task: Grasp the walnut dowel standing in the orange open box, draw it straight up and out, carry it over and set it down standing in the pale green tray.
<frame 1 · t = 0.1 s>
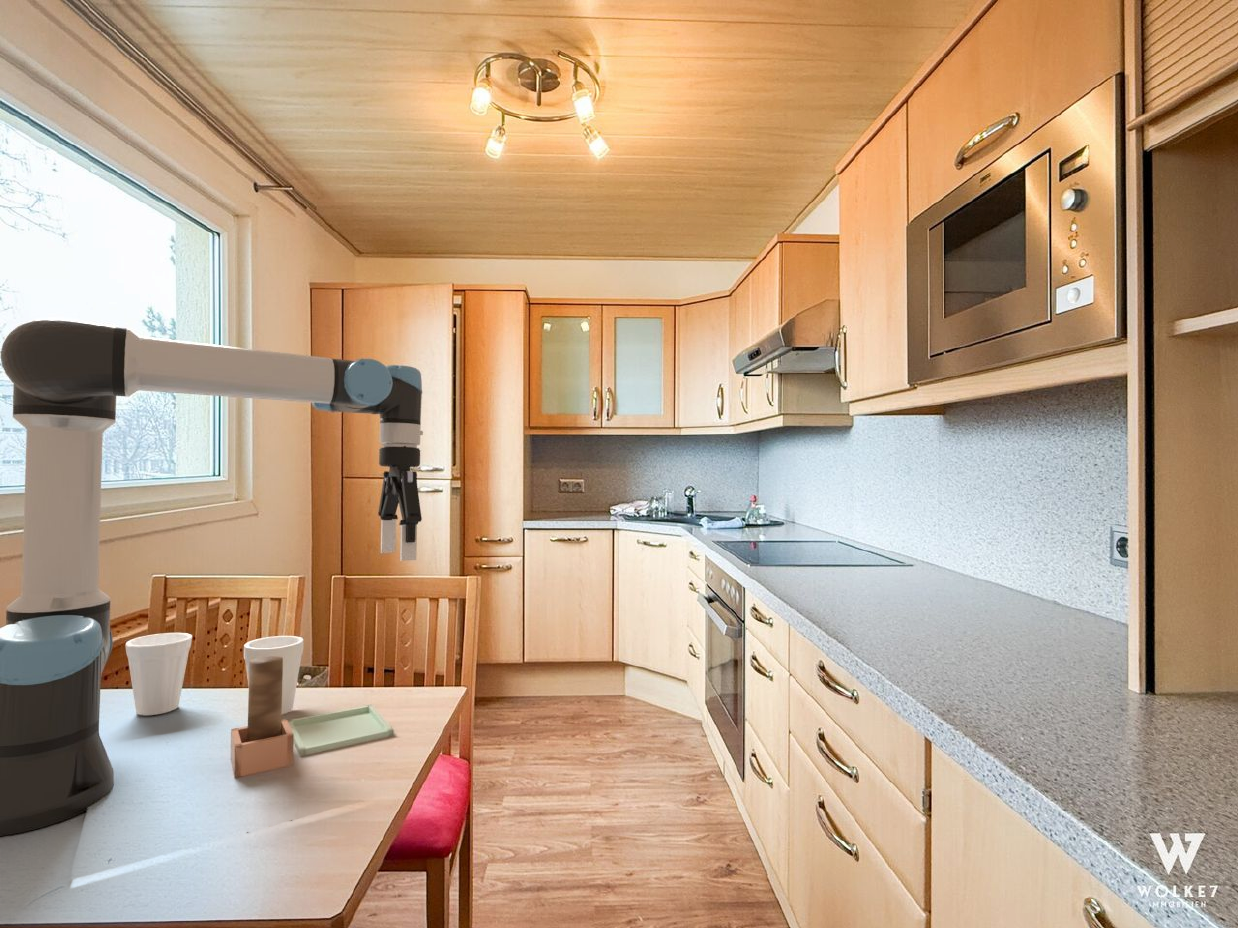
hand: (397, 556, 122), 28 cm above the table, fingers open, 13 cm apart
foam cup: (272, 715, 114), on the table
dowel: (263, 761, 94), point 1 cm above the table, touching orange open box
tray: (338, 734, 106), on the table
cup: (157, 712, 115), on the table
orange open box: (261, 765, 94), on the table
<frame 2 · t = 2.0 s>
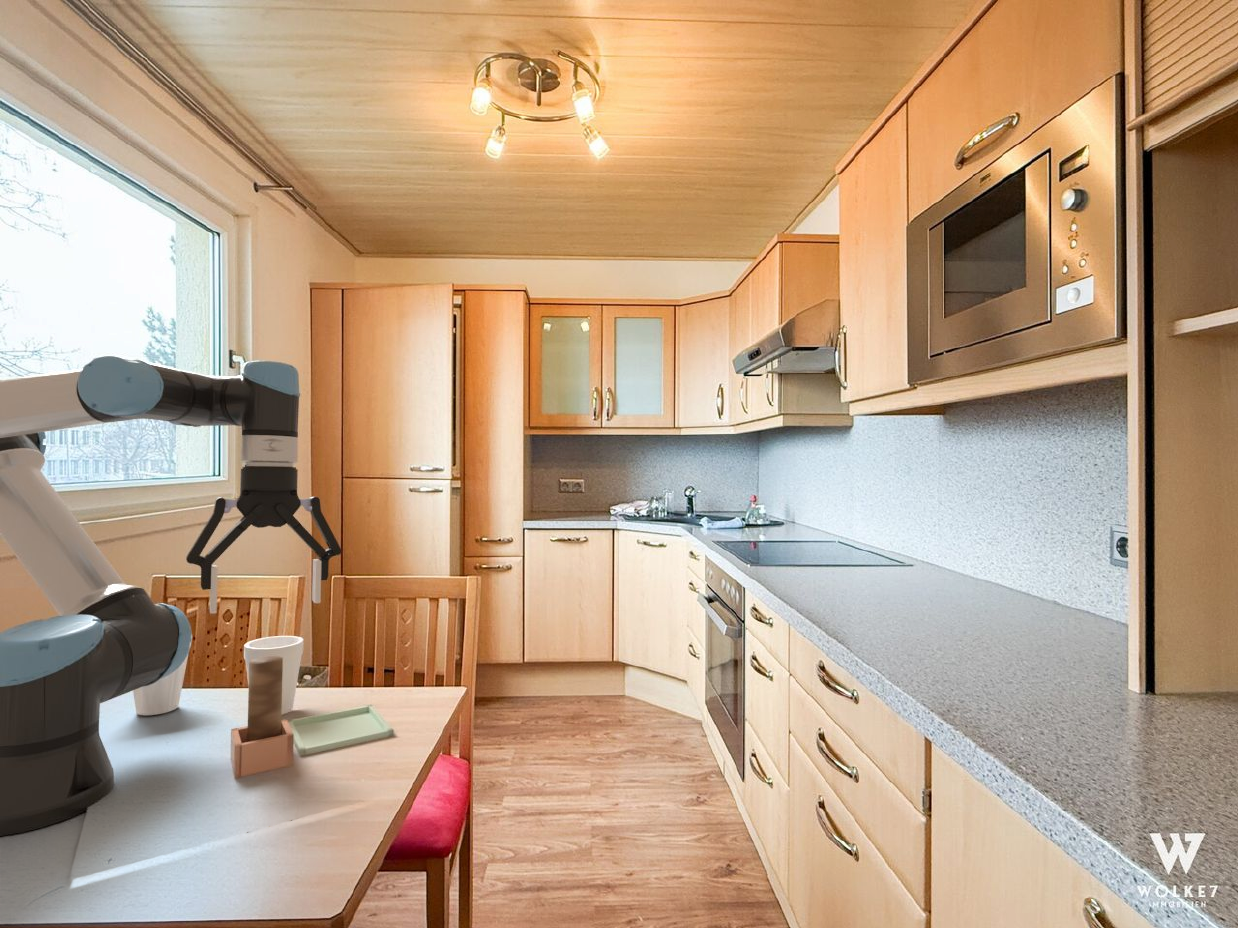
hand: (266, 606, 95), 24 cm above the table, fingers open, 13 cm apart
nothing on the table moved.
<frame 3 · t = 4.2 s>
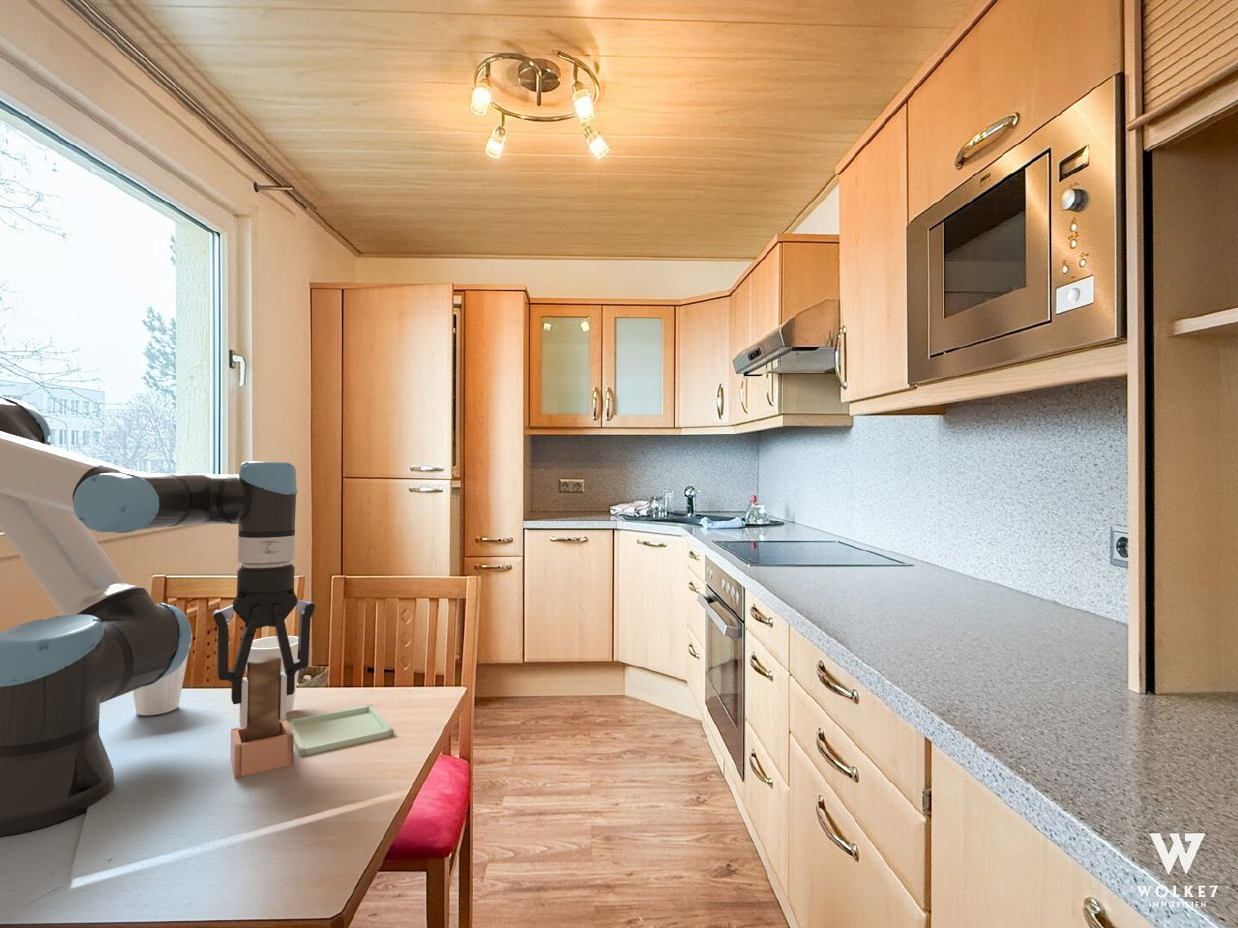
hand: (262, 720, 94), 7 cm above the table, fingers closed on dowel, 4 cm apart
dowel: (261, 761, 94), point 1 cm above the table, touching orange open box, gripper
everything else where it was.
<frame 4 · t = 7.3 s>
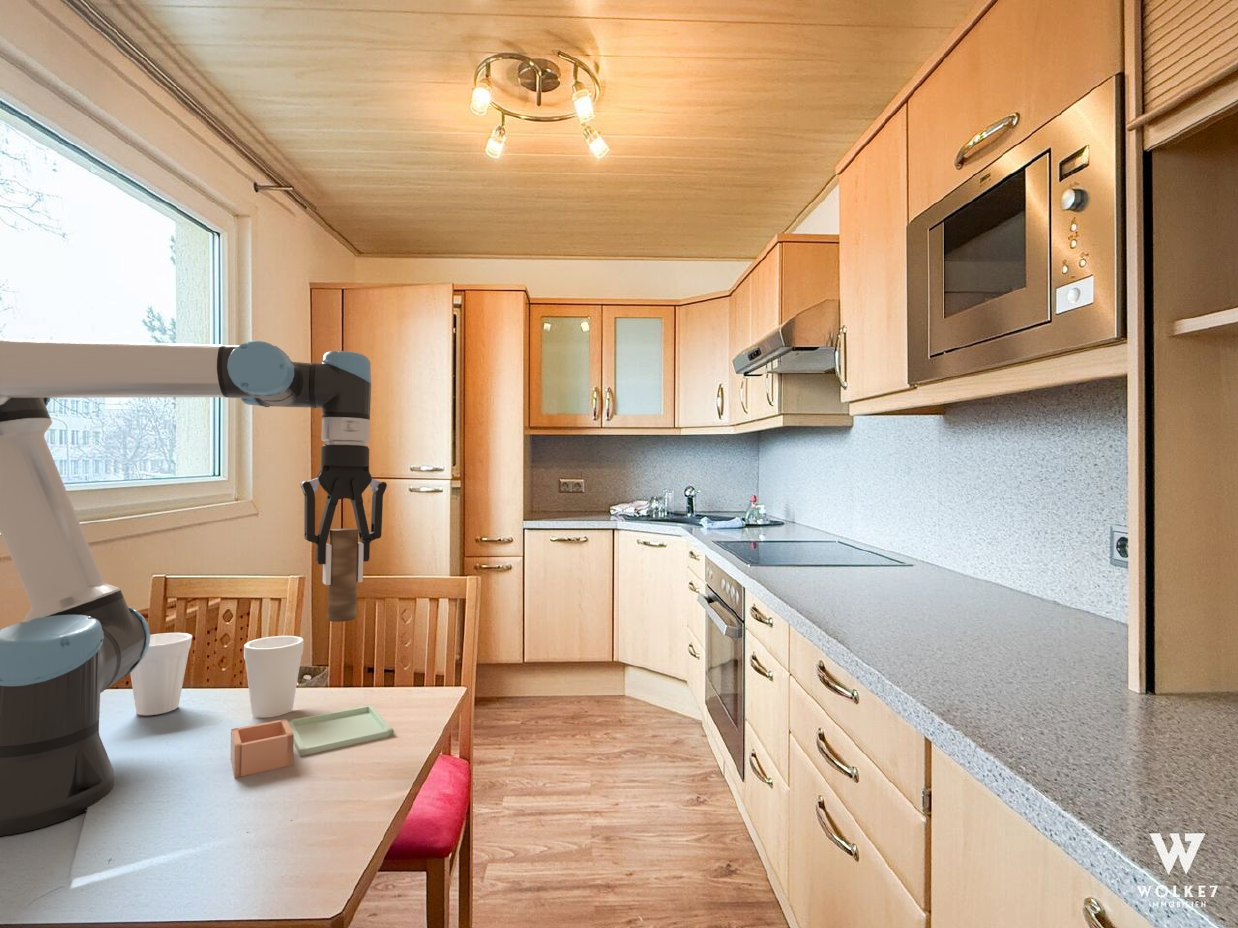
hand: (342, 582, 107), 25 cm above the table, fingers closed on dowel, 4 cm apart
dowel: (342, 618, 106), point 19 cm above the table, touching gripper
everything else where it was.
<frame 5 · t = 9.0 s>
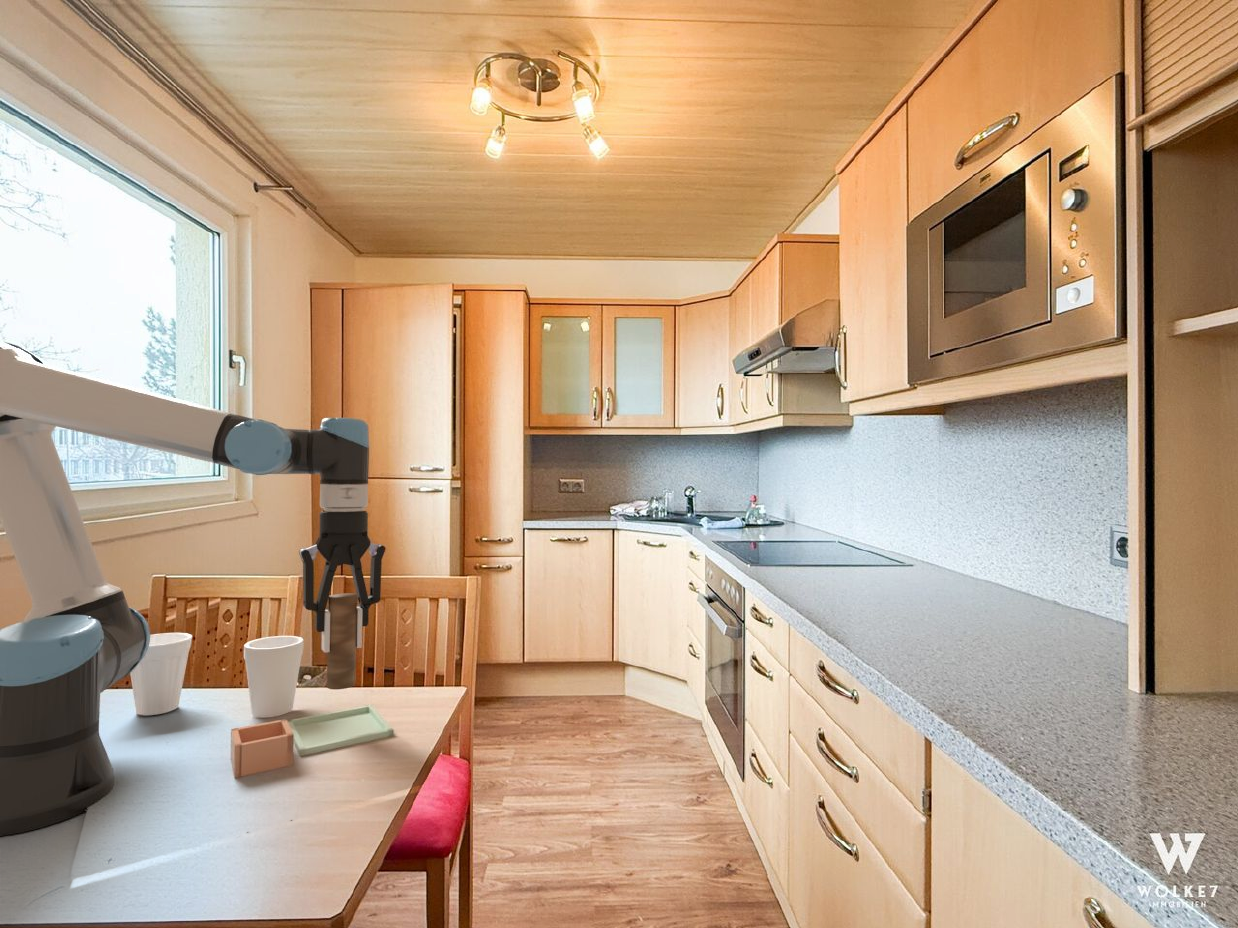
hand: (341, 647, 106), 14 cm above the table, fingers closed on dowel, 4 cm apart
dowel: (341, 684, 106), point 8 cm above the table, touching gripper
everything else where it was.
when the fingers open (8 cm above the table, at t = 10.5 s): dowel drops 1 cm, resting on tray.
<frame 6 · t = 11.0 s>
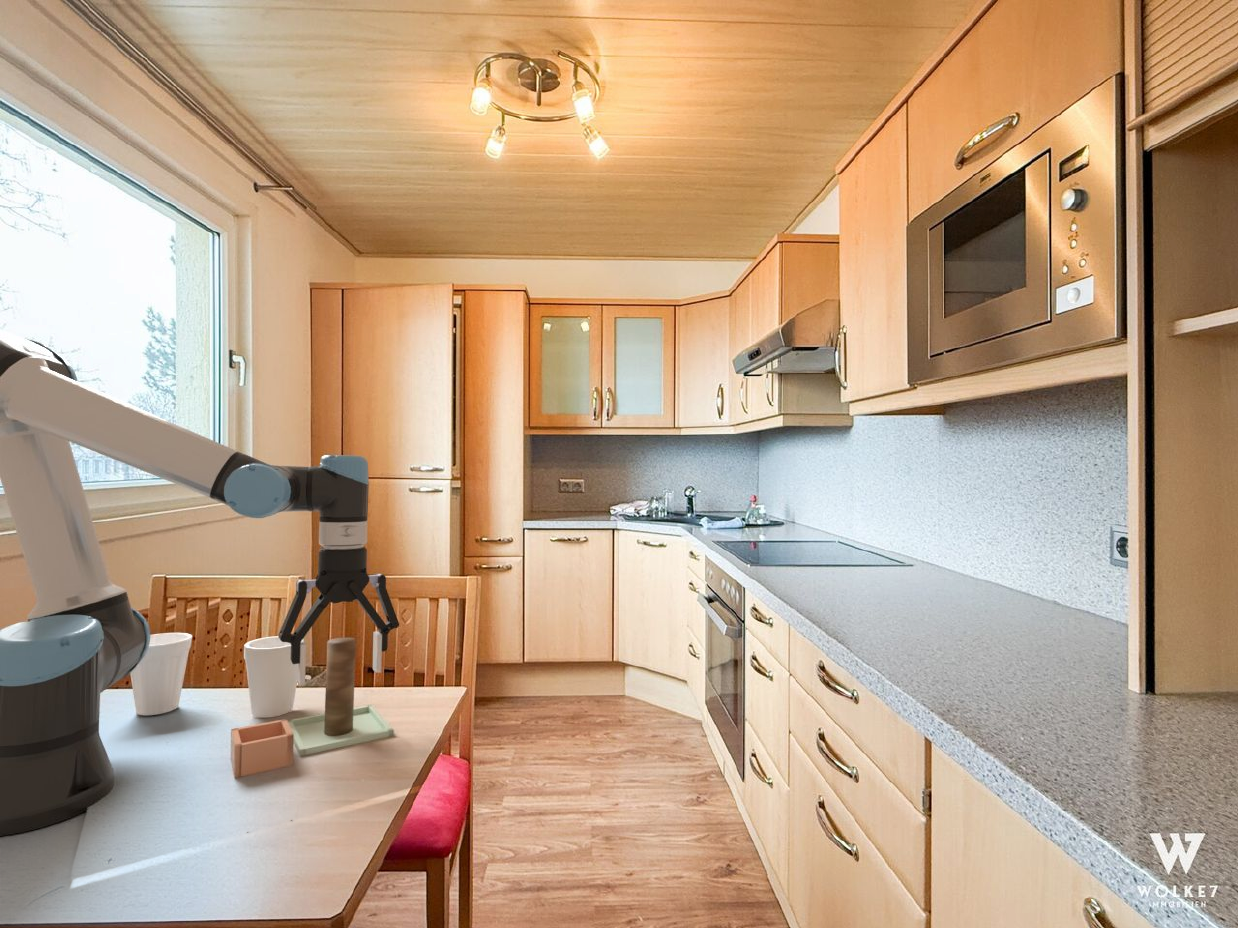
hand: (340, 676, 106), 10 cm above the table, fingers open, 11 cm apart
dowel: (338, 730, 106), point 1 cm above the table, touching tray
everything else where it was.
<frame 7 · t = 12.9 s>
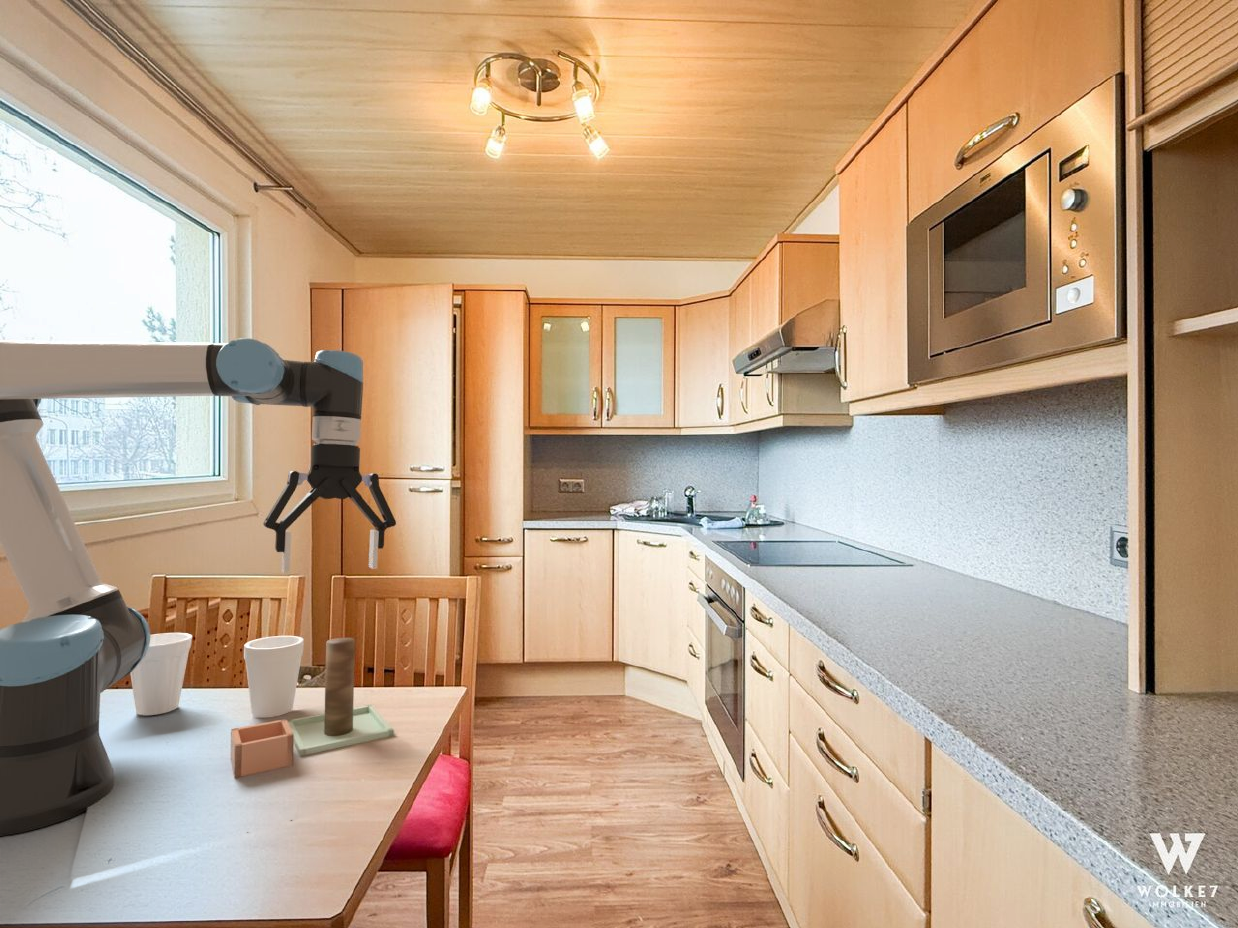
hand: (330, 570, 106), 28 cm above the table, fingers open, 13 cm apart
nothing on the table moved.
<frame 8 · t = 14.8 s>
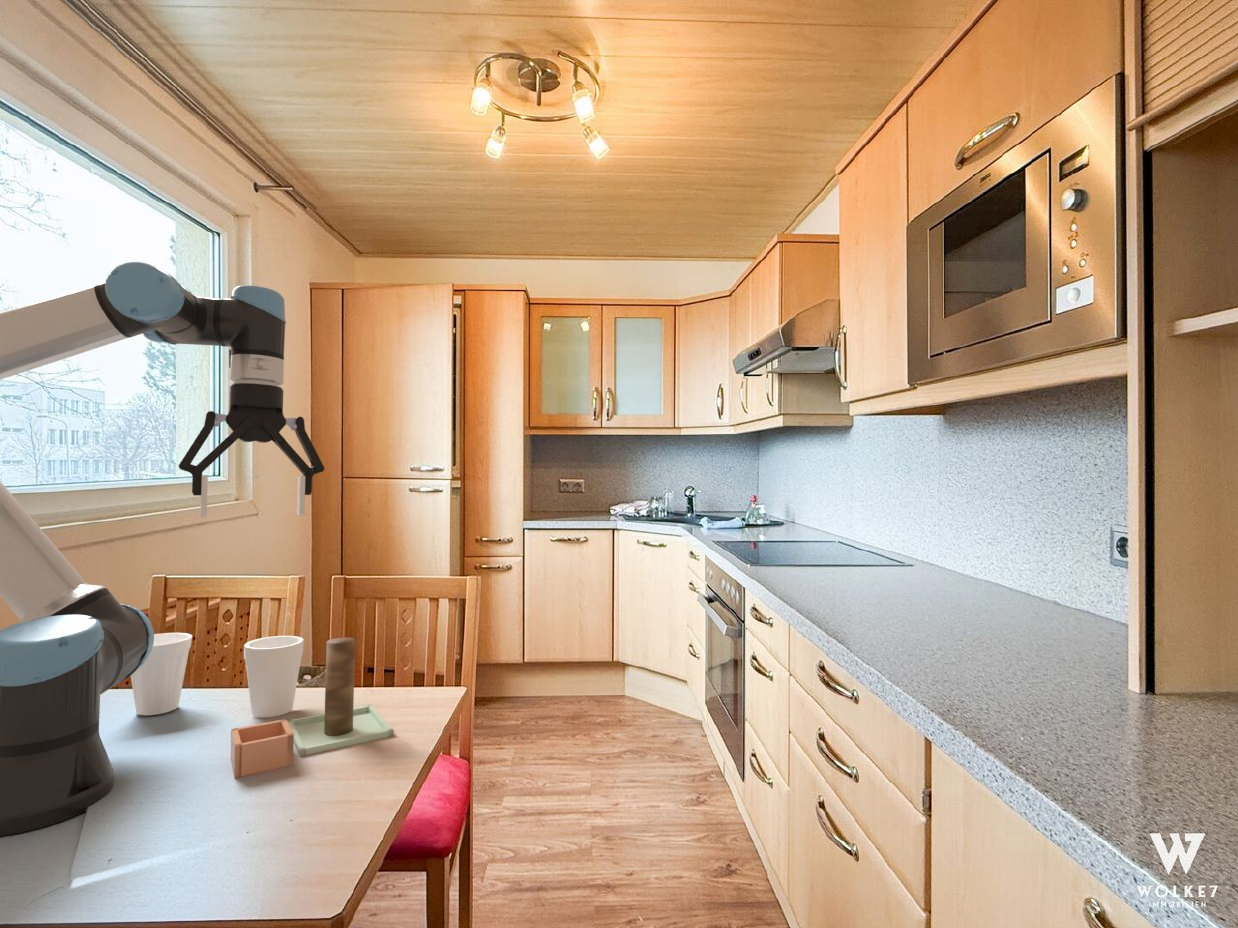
hand: (253, 516, 102), 37 cm above the table, fingers open, 13 cm apart
nothing on the table moved.
at the end: dowel inside the target area on the tray (0.1 cm from its centre), point 0.6 cm above the tray's base; dowel tilted 0°; the gripper is holding nothing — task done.
